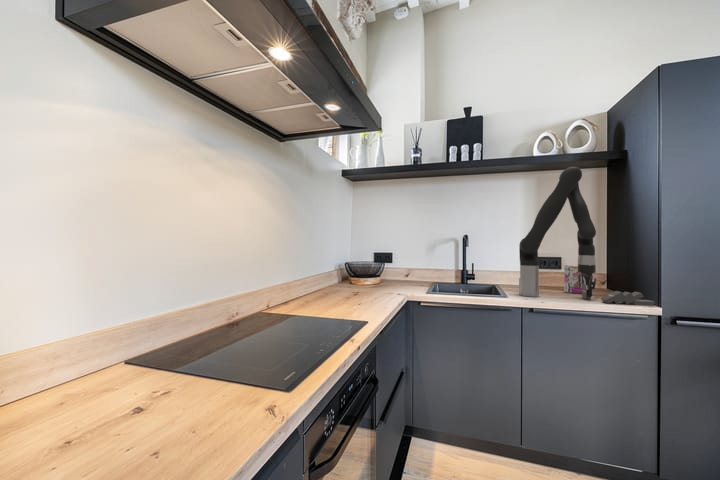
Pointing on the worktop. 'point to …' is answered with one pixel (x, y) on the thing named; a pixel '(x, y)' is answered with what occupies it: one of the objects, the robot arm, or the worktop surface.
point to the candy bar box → (571, 279)
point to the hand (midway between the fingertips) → (586, 295)
